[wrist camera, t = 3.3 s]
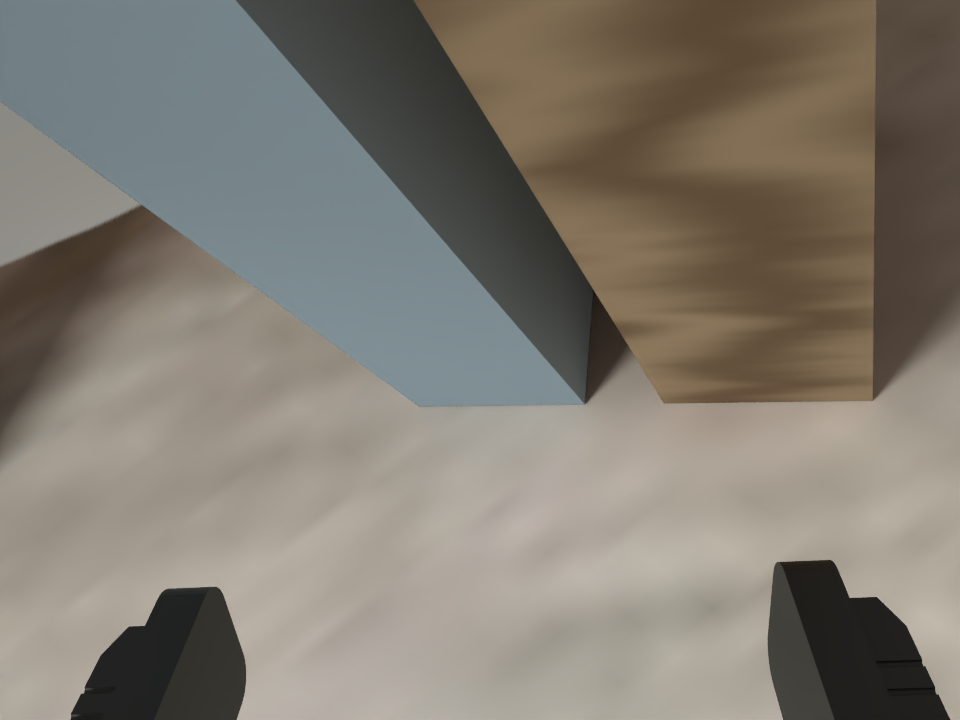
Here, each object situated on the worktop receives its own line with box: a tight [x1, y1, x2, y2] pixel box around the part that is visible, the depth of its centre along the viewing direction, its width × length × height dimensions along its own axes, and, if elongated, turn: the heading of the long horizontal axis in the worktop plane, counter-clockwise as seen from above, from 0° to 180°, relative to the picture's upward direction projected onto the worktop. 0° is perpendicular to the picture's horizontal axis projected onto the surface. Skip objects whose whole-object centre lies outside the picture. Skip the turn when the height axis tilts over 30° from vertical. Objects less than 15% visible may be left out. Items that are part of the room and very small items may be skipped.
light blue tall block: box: [0, 0, 593, 407], centre depth 25 cm, size 7×12×28 cm, turn 173°
